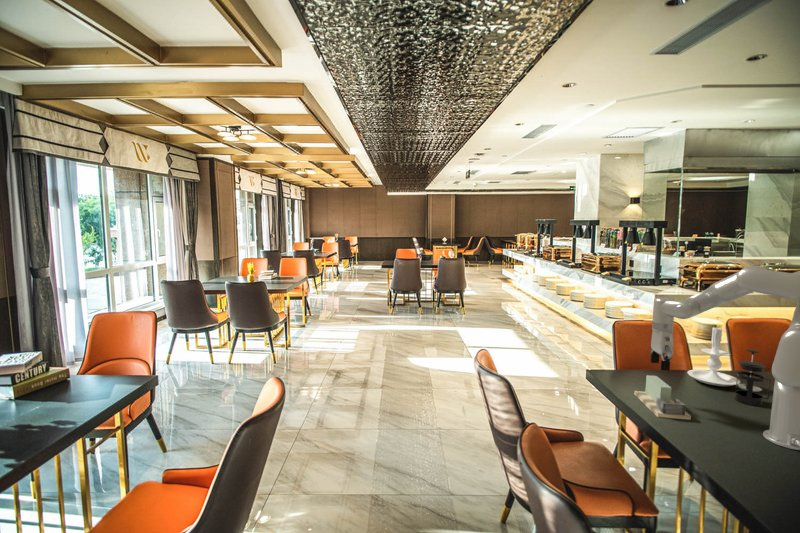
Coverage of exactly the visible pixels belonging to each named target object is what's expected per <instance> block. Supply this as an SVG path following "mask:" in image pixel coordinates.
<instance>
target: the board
mask: <svg viewBox="0 0 800 533" xmlns="http://www.w3.org/2000/svg"><path fill="white" fill-rule="evenodd" d="M634 396H636V398H638V399H639V400H640V401H641V402H642V403H643V405H645V407H647V408H648V409H649V410H650V411H651V412H652V413H653V414H654V415H655V416H656V417H657V418H663V419H665V418H666V419H676V420H677V419H678V420H688V421H691V418H692V415H691V414H689V413H688V411H686V404H685V403H684V402H682V401H681V400H680V399H678V398H675V400H672V399H671V402H670V403H665V402H664V401H663V400H661V399H660V398H657V399H656V402H655V401H654V400H653V399H652V398H651V397H650V396H648V395H647V394H646V393H645V391H640V390H634Z"/></svg>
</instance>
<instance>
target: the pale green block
mask: <svg viewBox="0 0 800 533" xmlns="http://www.w3.org/2000/svg"><path fill="white" fill-rule="evenodd" d="M645 376H646V378H645V388H644V392H645V393H646V394H647V395H648V396H650V397H651V398H652V399H653V400H654V401H655V402H656V399H657V398H660V399H661V400H663V401H664V402H665V403H670V402H671V400H672V387H671V386H670V385H669V384H668V383H666V382H665V381H664V380H662V379H661V378H660V377H659V376H657V375H648V374H647V375H645Z"/></svg>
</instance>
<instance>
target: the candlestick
mask: <svg viewBox="0 0 800 533" xmlns="http://www.w3.org/2000/svg"><path fill="white" fill-rule="evenodd" d="M722 336H723V329H722V328H719V327H712V329H711V341H710V343H711V348H701V349H700V351H701V352H703V353H706V354H708V355H710V356H709V358H708V359H707V361H706V364H707V367H708V368H709V369H691V370H690V369H689V370H688V371H687V373H686V374H688V375H689V376H690V377H692V378H693V379H695V380H696V381H698V382H700V383H704V384H706V385H710V386H716V387H731V386H734V385H735V386H736V382H737V384H741V380H740V379H738V380H737V377H735V376H732V375H730V374H727V373H724V372H719V370H720V369H721V368H722V361H721V360H720V357H724V356H730V355H731V353H730V352H728V351H725V350H720V349H721V342H722Z"/></svg>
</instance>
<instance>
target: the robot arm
mask: <svg viewBox="0 0 800 533" xmlns="http://www.w3.org/2000/svg"><path fill="white" fill-rule="evenodd" d="M752 293H758V294H764V295H769V296H774V297H778V298H779V297H780V298H785V299H790V300H791V299H792V300H796V301H797V302H796V305H795V309H794V312H793V316H792V319H791V322H790V325H789V327H788V328H787V330H785V331H784V333H783V334H782V335H781V337H780V340H779V342H778V346H777V349H776V353H775V356H774V358H773V359H774V360H773V362H772V365H771V366H772V367H771V374H772V376H773V378H774V386H773V393H772V401H771V402H772V403H771V409H770V410H771V411H770V419H769V420H770V422H769V429H766V430H764V431H763V432H762V435H763V437H764V438H765V439H766V440H767V441H769V442H770V443H772V444H775V445H778V446H781V447H783V448H786V449H791V450H795V451H800V271H795V272H786V271H779V270H771V269H767V268H766V267H764V266H761V265H750V266H745V267H743V268H742V269H740V270H739V271H737V272H735V273H733V274H731V275H729V276H726V277H724V278H722V279H720V280H718V281H716V282H713V283H712V284H711V285H710V286H709V287H707V288H706V289H704V290H703V291H700V292H697V293H696V294H694V295H691V296H690V297H687V298H684V299H680V300H674V299H673V298H671V297H664V296H663V297H655V298H654V301H653V306H652V307H653V308H652V324H651V330H652V332H651V333H652V334H651V340H650V363H651V364H659V363H660V370H661V371H667V372H668V371H670V366H671V360H672V356H673V355H674V335H673V334H674V333H673V332H674V322H675V318H676V319H680V320H688V319H690V318H692V317H695V316H698V315H699V314H702V313H704V312H707V311H709V310H712V309H714V308H716V307H718V306H722V305H726V304H728V303H731V302H733V301H735V300H737V299H740V298H743V297H745V296H747V295H749V294H752ZM660 356H661V360H660Z"/></svg>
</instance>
